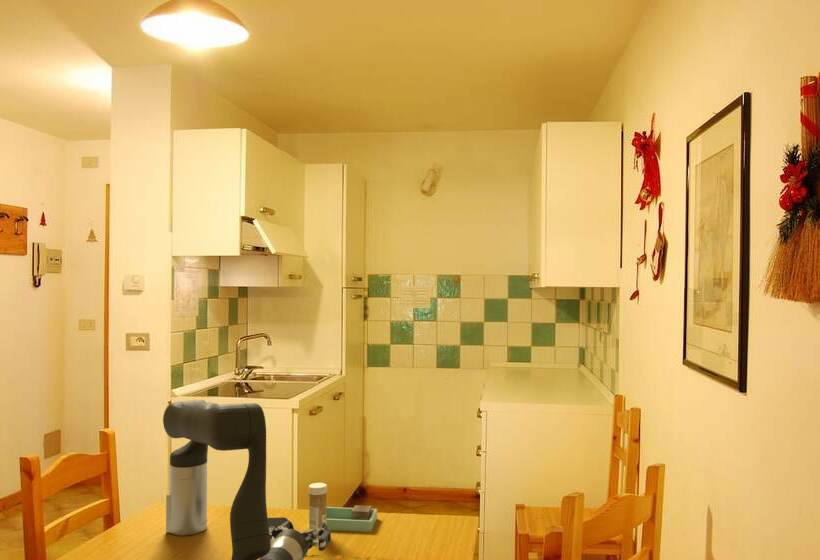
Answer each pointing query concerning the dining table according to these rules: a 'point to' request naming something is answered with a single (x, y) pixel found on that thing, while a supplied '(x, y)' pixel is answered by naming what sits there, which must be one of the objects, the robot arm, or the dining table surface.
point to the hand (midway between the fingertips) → (306, 525)
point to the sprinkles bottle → (317, 505)
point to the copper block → (361, 512)
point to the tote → (348, 520)
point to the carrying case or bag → (278, 522)
